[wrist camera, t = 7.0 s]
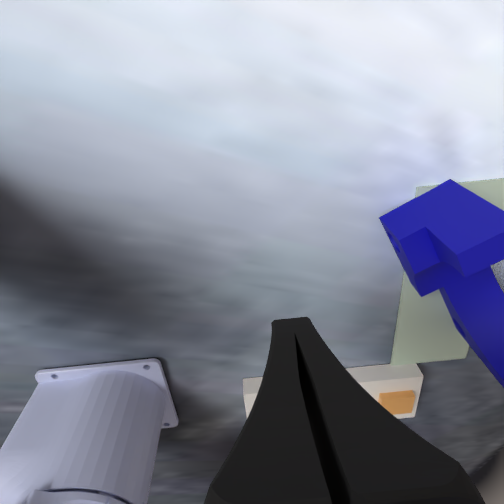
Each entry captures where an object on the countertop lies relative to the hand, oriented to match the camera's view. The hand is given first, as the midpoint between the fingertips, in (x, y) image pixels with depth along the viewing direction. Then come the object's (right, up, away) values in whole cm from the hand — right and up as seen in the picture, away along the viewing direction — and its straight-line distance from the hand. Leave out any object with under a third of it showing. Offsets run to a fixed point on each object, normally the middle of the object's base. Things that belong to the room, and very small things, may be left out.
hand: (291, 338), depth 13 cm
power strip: (+5, -8, +17) cm, 19 cm away
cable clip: (+11, +2, +11) cm, 16 cm away
